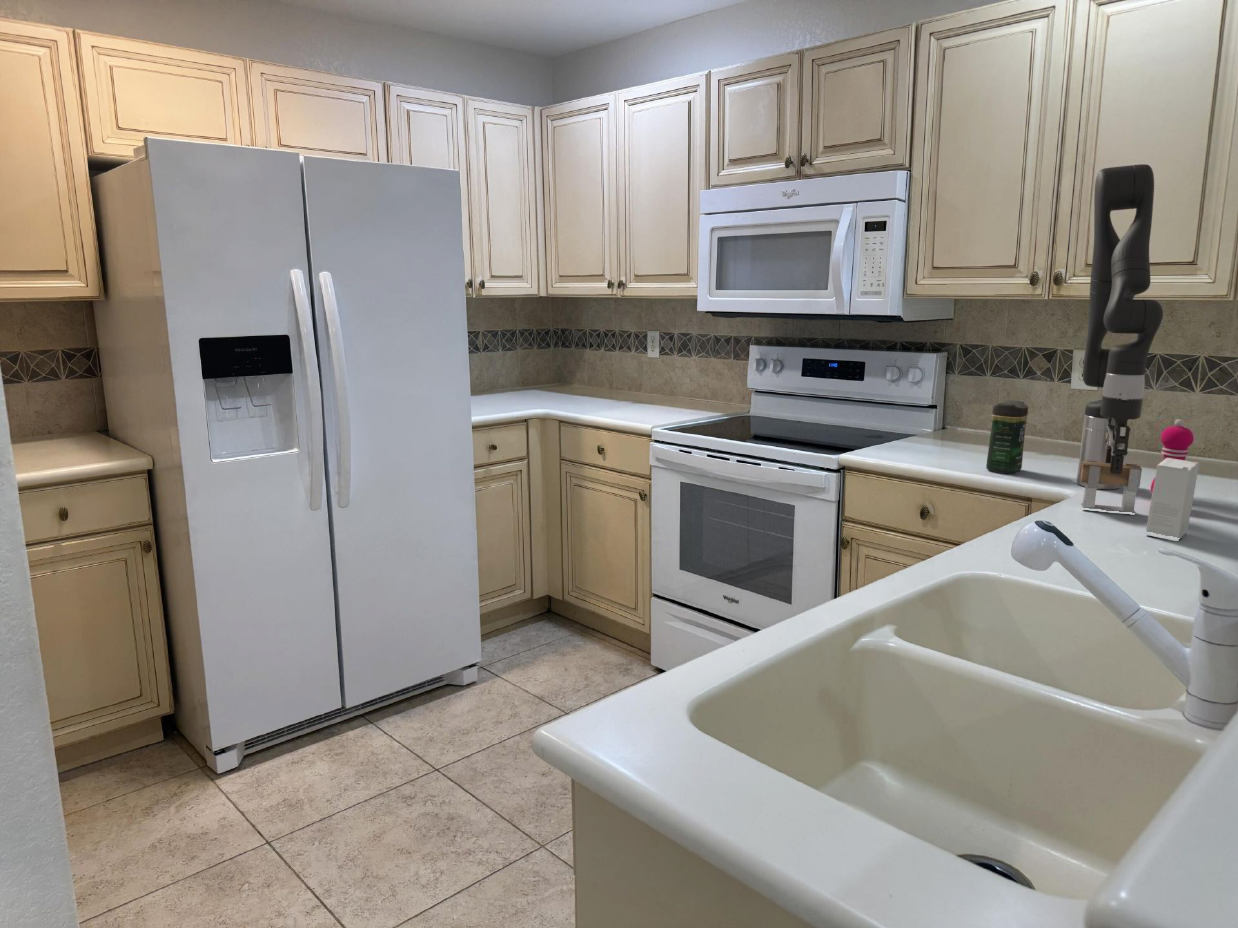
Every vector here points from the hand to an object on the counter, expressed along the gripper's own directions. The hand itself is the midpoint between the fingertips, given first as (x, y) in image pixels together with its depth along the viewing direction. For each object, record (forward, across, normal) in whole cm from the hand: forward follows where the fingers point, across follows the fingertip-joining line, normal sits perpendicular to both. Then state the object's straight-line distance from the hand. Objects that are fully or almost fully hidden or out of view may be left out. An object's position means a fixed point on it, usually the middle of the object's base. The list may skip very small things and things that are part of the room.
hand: (1113, 469), depth 187 cm
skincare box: (+10, +16, +9) cm, 21 cm away
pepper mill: (+10, -8, +12) cm, 18 cm away
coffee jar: (+10, -36, -20) cm, 42 cm away
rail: (+3, 0, 0) cm, 3 cm away
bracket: (+9, 0, 0) cm, 9 cm away
